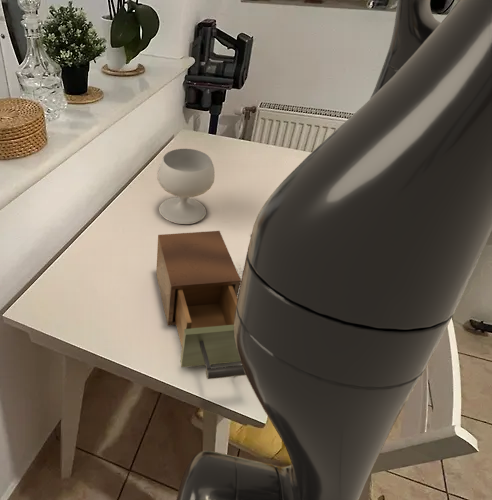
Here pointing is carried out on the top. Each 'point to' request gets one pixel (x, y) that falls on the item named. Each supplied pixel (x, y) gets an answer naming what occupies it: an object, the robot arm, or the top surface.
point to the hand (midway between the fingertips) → (346, 248)
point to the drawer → (208, 329)
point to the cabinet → (192, 265)
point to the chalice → (185, 184)
